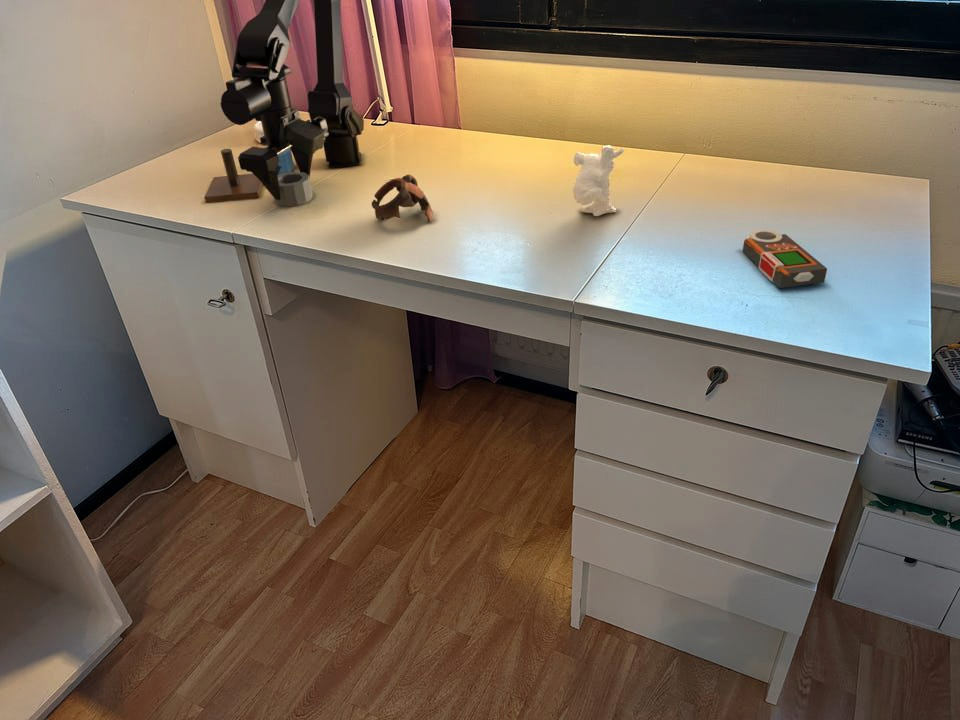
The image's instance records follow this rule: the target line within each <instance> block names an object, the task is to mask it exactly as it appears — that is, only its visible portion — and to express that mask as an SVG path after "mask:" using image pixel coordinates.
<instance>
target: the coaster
mask: <svg viewBox="0 0 960 720" xmlns="http://www.w3.org/2000/svg"><path fill="white" fill-rule="evenodd" d="M253 132H254V135H255V140H256V141H257V142H258V143H259V144H261V141H260V138H261V137H263V136H264V132H263V127H262V123H261V121H256V122H255V123H254V125H253Z"/></svg>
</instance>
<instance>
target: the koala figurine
mask: <svg viewBox="0 0 960 720" xmlns="http://www.w3.org/2000/svg"><path fill="white" fill-rule="evenodd" d="M624 152H625V149H624V148H619V149H617V150H615V147H613V145H610V144H605V145H603V146H601V152H600V153H599V154H598V153H586V154H584V153H583V152H582V151H581V152H580V151H578V152H576V153H575V154H574V155H573V163H574V165H575V166H577V167H580V166H581V168H580V170H578V173H577V174H576V177H575V182H574V183H573V187H572V193H573V198H574V200H575V203H577V204H578V205H581V206H582V207H581V209H580V210H581V212H582V213H587V214H592V215H593V216H594V217H599V216H602V215H604V214H610V213H616V212H617V209H616V208H615V207H614V206H613V205H611V203H610V198H611V196H610V195H611V190H610V185H611V184H610V183H611V182H610V181H611V179H610V176H611V173H612V171H613V170H614V168H615V160H614V159H616V158H618V157H620V156H621V155H622V154H623V153H624Z"/></svg>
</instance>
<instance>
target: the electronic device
mask: <svg viewBox="0 0 960 720" xmlns="http://www.w3.org/2000/svg"><path fill="white" fill-rule="evenodd" d="M742 246H743V247H742V253H743V254H744V255H745V256H746V257H747V258H748V259H749V260H750V261H752V263H753V264H755V265H756V266H757V268H758V271H760V273H761V274H762V275H764V276H765V278H767V279H768V280H769V281H770V283H774V284H775V285H776V286H777V287H778V288H779V289H781V288H789V287H790V288H791V287H797V286H807V285H814V284H823V283H825V281H826V276H827V271H828V268H827V267H826V266H825V265H823V264H822V263H821V262H820V261H819V260H817V258H815V257H814V256H813V255H811V253H809V252H808V251H807V250H806V249H804V248H803V247H802V246H801V245H799V244H798V243H797V242H796V241H795V240H793V239H792V238H791V237H790V236H789V235H788V234H786V233H783V234H781V233H780V232H778V231H775V230H772V229H755V230H753V231H751V232H750V233H749V238H745V239H744V240H743V245H742Z"/></svg>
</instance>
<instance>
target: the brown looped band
mask: <svg viewBox="0 0 960 720" xmlns="http://www.w3.org/2000/svg"><path fill="white" fill-rule="evenodd" d="M395 188H396V189H395ZM394 189H395V190H396V191H397V192H398V193H397V195H395V197H394V198H393V199H391V200H390V201H388V202H386V203H385V204H381V202H382V200H383V199H384V197H385V196H386V195H387V194H389V193H390V192H392V190H394ZM374 198H375V199H372V201H371V208H372V209H374V215H375V219H377V220H379V221H385V220H390V219H392V218H397V219H401V218H402V217H401V215H400V207H401V208H413V207H415V206H416V205H418V204H419V206H420V210H421V211H422V212H424V213H423V214H424V216H425V217H427V218H426V219H427V222H428V223H431V222H432V221H433V220H434V219H433V218H434V212H433V210H432V207H431V203H430V202H429V201H428V198H427V196H426V194H425V193H424V191H423V190H422V189H421V188H420V187H419V184H418V181H417V179H416V177H414V176H413V175H411V174H406V175H404V176H402V177H395V178H392V179H390V180H389V181H387V182H385V183H384V184H383V185H381V187H380V188H378V190H377V191H376V192H375V193H374ZM380 204H381V205H380Z"/></svg>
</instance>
